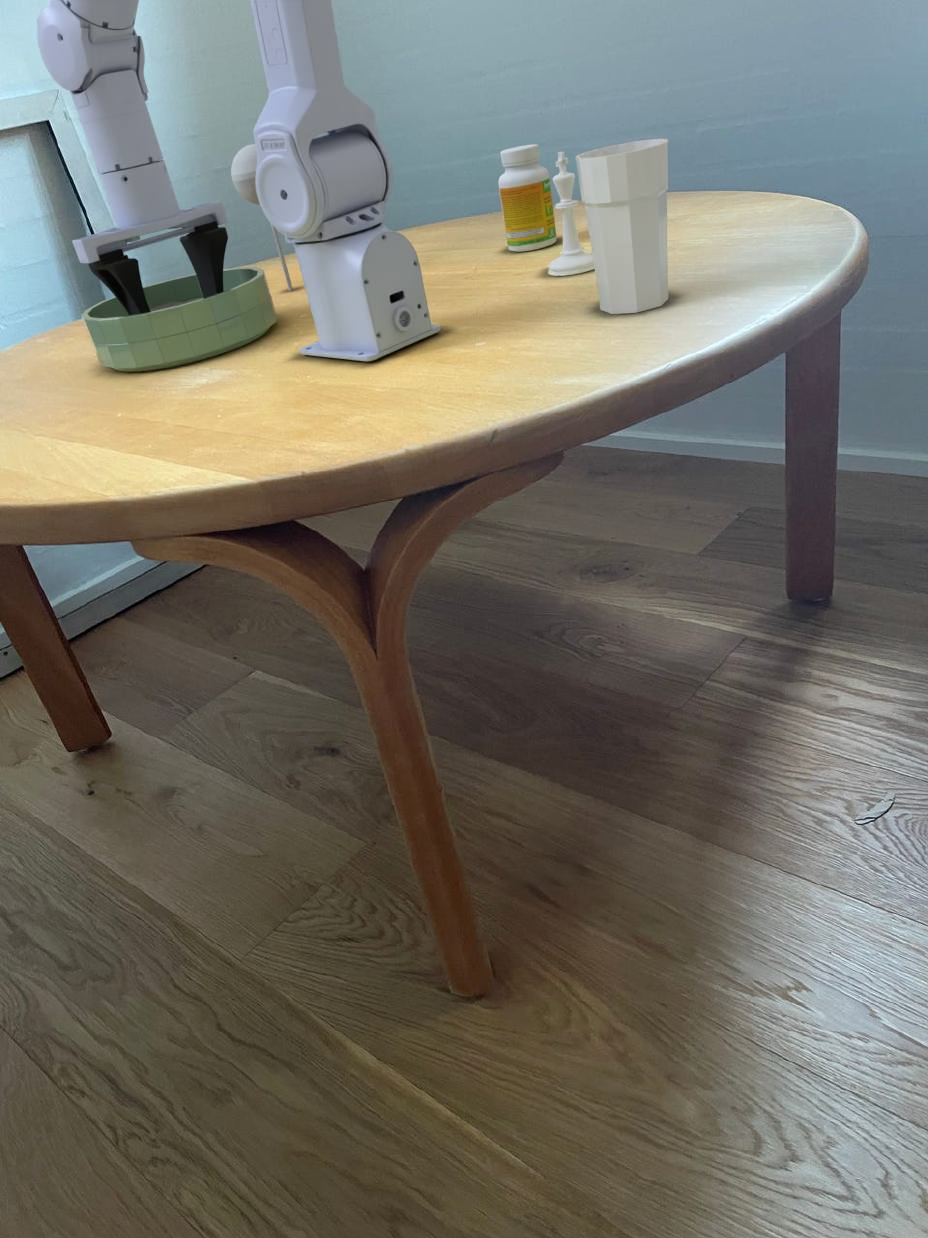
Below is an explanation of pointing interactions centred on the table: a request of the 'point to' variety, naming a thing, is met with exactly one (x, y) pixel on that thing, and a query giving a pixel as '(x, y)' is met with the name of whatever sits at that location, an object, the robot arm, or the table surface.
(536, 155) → the supplement bottle
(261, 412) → the table surface
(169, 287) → the bowl
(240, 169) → the lollipop
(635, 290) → the cup
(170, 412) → the table surface
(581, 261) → the chess piece
